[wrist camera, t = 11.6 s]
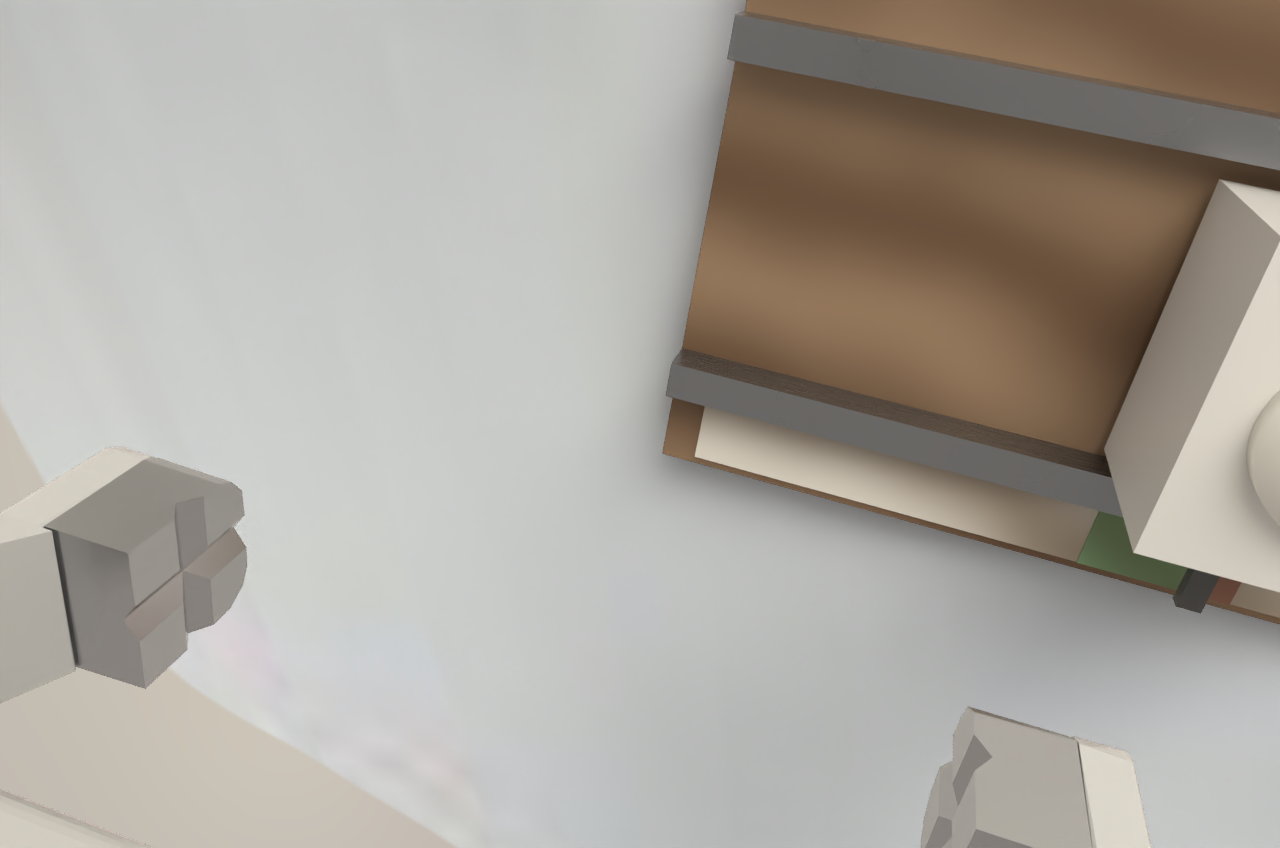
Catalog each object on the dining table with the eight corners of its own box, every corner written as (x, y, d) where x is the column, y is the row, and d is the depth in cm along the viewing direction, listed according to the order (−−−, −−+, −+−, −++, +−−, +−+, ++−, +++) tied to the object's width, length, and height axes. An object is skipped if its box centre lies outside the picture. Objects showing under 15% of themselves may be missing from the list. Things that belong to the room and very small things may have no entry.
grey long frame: (745, 11, 24) (673, 35, 18) (2030, 257, 20) (2507, 400, 14) (676, 379, 29) (601, 496, 23) (1699, 647, 24) (1945, 882, 18)
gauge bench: (776, -103, 24) (764, -105, 23) (2061, 116, 20) (2153, 130, 18) (674, 431, 31) (660, 456, 30) (1603, 684, 27) (1641, 729, 25)
